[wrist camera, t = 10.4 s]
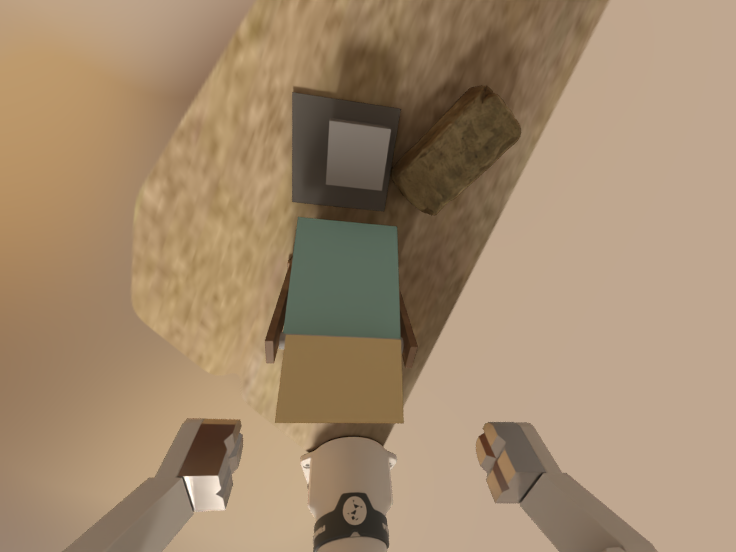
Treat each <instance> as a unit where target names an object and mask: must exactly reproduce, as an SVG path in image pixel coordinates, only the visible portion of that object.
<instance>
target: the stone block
mask: <svg viewBox="0 0 736 552" xmlns="http://www.w3.org/2000/svg"><path fill="white" fill-rule="evenodd" d="M520 135H521V128H520V125H519V123H518V121H517V120H516V119H515V118H514V116H513V114H512V112H511V110H510V109H508V108H507V106H506V105H505V103H504V101H503V100H502V99H501V98H500V97H499V96H498V94H494V93H493V91H492V90H491V89H490V88H489V87H488V86H477V87H472V88H470V89H469V90H468V91H467V92H466V93H465V94H464V95H463V96H462V97H461V98H460V99H459V100H458V101H457V102H456V103H455V104H454V105H453V106H452V107H451V108H450V109H449V111H448V112H447V113H446V114H445V115H444V116H443V117H442V118H441V119H440V120H439V121H438V122H437V123H436V124H435V125H434V126H433V127H432V128H431V129H430V131H429V132H428V133H427V134H426V135H425V136H423V137H422V138H421V140H420V141H419V142H418V143H417V144H416V145H415V146H414V147H412V148H411V149H410V150H409V151H408V152H407V153H406V154H405V155H404V156H403V157H402V158H401V159H400V160H399V161H398V162H397V164H396V165H395V166H394V167H393V169H392V170H391V175H392V178H393V181H394V183H395V184H396V185H397V186H398V188H399V190H400V191H401V193H402V195H403V196H404V197H406V199H407V200H408V201H409V202H410V203H411V204H413V205H414V206H415V207H416V208H418V209H419V210H420V211H422V212H424V213H427V214H429V215H431V216H432V215H436V214H437V213H438V212H439V211H440V210H441V209H442V208H443V207H444V206H445V205H446V204H447V203H448V202H450V201H452V200H453V199H455V198H456V197H457V196H458V195H459V194H460V193H461V192H462V191H463V190H464V189H465V188H467V187H468V186H469V185H470V184H471V183H472V182H473V181H475V180H476V179H477V178H478V177H479V176H480V175H481V174H482V173H484V172H485V171H486V170H487V169H488V168H489V167H490V166H491V165H492V164H493V163H494V162H495V161H496V160H497V159H499V157H500V156H501V155H502V154H503V153H504V152H506V151H507V150H508V149H509V148H510V147H511V146H512V145H514V144H515V143H516V142H517V141H518V139H519V137H520Z"/></svg>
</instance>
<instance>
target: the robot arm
mask: <svg viewBox="0 0 736 552" xmlns="http://www.w3.org/2000/svg"><path fill="white" fill-rule="evenodd" d="M240 429H241V421H240V420H238V419H201V418H200V419H199V418H198V419H197V418H192V419H191V418H187V419H186V421H185V422H184V423H183V424H182V426H181V428H180V430H179V431H178V433H177V435H176V437H175V439H174V441H173V443H172V445H171V447H170V449H169V451H168V453H167V454H166V456H165V458H164V460H163V462H162V464H161V466H160V468H159V470H158V472H157V474H156V476H155V477H154V478H148V479H147V480H146V481H144V482H143V483H142V484H141V485H140V486H139V487H137V488H136V489H135V490H134V491H133V492H131V493H130V494H129V495H128V496H127V497H126V498H124V499H123V501H121V502H120V503H119V504H117V505H116V506H115V507H114V508H113V509H112V510H110V511H109V512H108V513H107V514H106V515H105V516H103V517H102V518H101V519H100V520H99V521H98V522H97V523H95V524H94V525H93V526H92V527H91V528H89V529H88V530H87V531H86V532H85V533H84V534H82V536H80V537H79V538H78V539H77V540H75V541H74V542H73V543H72V544H71V545H70V546H68V547H67V548H66V549H65V550H64V551H63V552H162V551H163V550H164V549H165V548H166V546H167V545H168V544H169V543H170V542H171V540H172V539H173V538H174V537H175V536H176V534H177V533H178V532H179V531H180V530H181V528H182V527H183V526H184V525H185V524H186V523H187V521H188V520H189V519H190V518H191V517H192V515H193V512H199V511H217V510H225V509H226V506H227V503H228V499H229V496H230V492H231V489H232V486H233V481H232V473H233V472H234V471H235V470H236V469H237V468H238V466H239V462H240V459H241V454H242V448H243V435H242V434H241V433H239V432H240ZM483 430H484V433H483V434H482V435H480V436H479V437H478V439H477V441H476V454H477V458H478V461H479V464H480V466H481V467H482V468H483V469H484V470H485V471H486V472H487V478H486V482H487V484H488V487H489V489H490V492H491V494H492V497H493V499H494V502H495V503H520V506H521V507H522V509H523V510H524V511H525V512H526V513H527V514H528V516H529V517H530V518H531V519H532V520H533V521H534V523H536V525H537V526H538V527H539V528H540V530H541V531H542V532H543V533H544V534H545V535H546V536H547V538H548V539H549V540H550V541H551V542H552V544H553V545H554V546H555V547H556V548H557V549H558V551H559V552H657V550H656V549H655V548H654V546H653V545H652V544H651V543H650V542H649V541H647V540H646V539H645V538H644V537H643V536H642V535H640V534H639V533H638V532H637V531H636V530H634V529H633V528H632V527H631V526H630V525H628V524H627V523H626V522H625V521H624V520H622V519H621V518H620V517H618V515H616V514H615V513H614V512H613V511H612V510H610V509H609V508H608V507H607V506H606V505H604V504H603V503H602V502H601V501H599V500H598V499H597V498H596V497H595V496H593V495H592V494H591V493H590V492H589V491H588V490H586V489H585V488H584V487H583V486H581V485H580V484H579V483H578V482H577V481H576V480H574V479H573V478H572V477H571V476H570V475H568V474H567V473H562V472H561V470H560V468H559V467H558V465H557V463H556V462H555V460H554V459H553V457H552V455H551V454H550V452H549V451H548V449H547V447H546V446H545V444H544V443H543V441H542V439H541V437H540V436H539V434H538V433H537V431H536V429H535V428H534V426H533V425H531V424H530V423H526V422H524V423H522V422H521V423H514V422H488V423H486V424H485V425H484V427H483ZM396 461H397V459H396V455H395V454H393V453H391V452H389V451H387V450H385V449H384V447H383V446H382V445H381V444H379V443H378V442H376V441H374V440H371V439H368V438H362V437H344V438H338V439H335V440H331V441H329V442H327V443H325V444H323V445H321V446H320V447H319V448H317V449H316V450H315V451H313V452H310V453H307V454H305V455H303V456H301V461H300V462H301V466H302V469H303V472H304V475H305V478H306V481H307V483H308V508H310V512H311V514H312V515H313V516H314V518H315V521H316V523H315V527H314V536H313V545H314V547H313V549H314V550H313V552H387V549H388V547H389V531H388V527H387V519H386V517H385V516H386V513H387V512H388V510H389V509H390V507H391V505H392V504H393V497H392V485H391V474H390V470H391V469H392V468H393V466H394V465H395V463H396Z"/></svg>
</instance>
